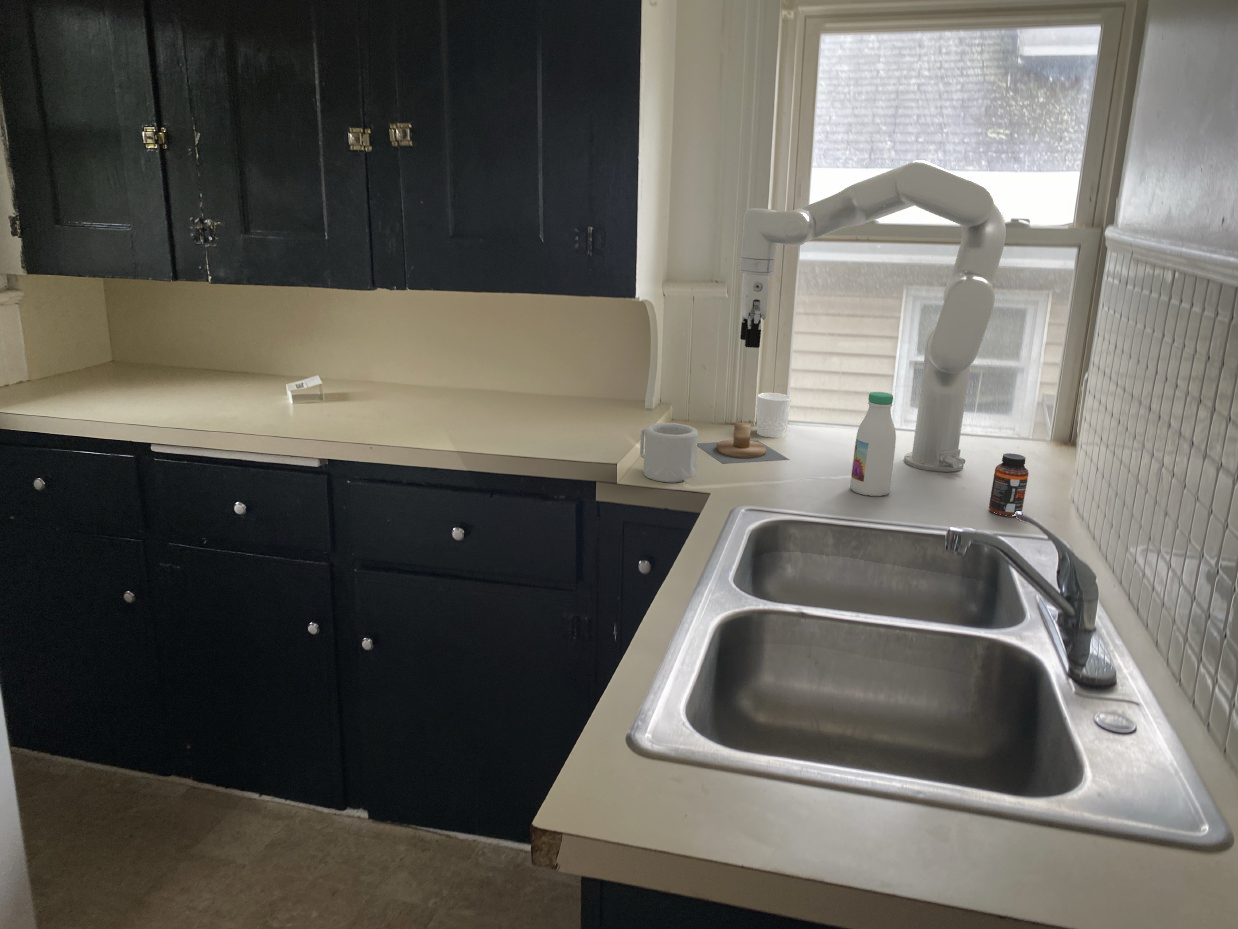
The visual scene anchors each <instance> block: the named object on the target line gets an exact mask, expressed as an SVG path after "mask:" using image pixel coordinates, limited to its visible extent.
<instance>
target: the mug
mask: <svg viewBox="0 0 1238 929" xmlns="http://www.w3.org/2000/svg"><path fill="white" fill-rule="evenodd" d="M698 440H699V431H698V430H697V428H695V427H693V426H691V425H687V424H683V423H676V422H659V423H653V424H650V425H648V426H646V427H645V428H643V429H642V430H641V431H640V444H639V445H640V446H639V447H640V448H639V456H640V457H641V458H643V466H642V467H643V474H644V476H645V477H646V478H648V479H650V480H652V481H656V482H661V483H662V482H663V483H672V484H673V483H675V484H676V483H684V482H686V481H685V480H687V479H690V478H692V477H694V476H695V475H696V470H697V452H698V446H697V443H698Z"/></svg>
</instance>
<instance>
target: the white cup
mask: <svg viewBox="0 0 1238 929" xmlns="http://www.w3.org/2000/svg"><path fill="white" fill-rule="evenodd" d="M756 399H757V400H756V403H757V404H756V434H757V435H759V436H762V437H765V438H772V439H773V438H776V439H778V438H783V437H785V436H786V432H787V428H788V422H789V416H790V406H791V401H792V397H791V396H790V395H788V394H784V393H779V392H761V393H759V394H757V398H756Z"/></svg>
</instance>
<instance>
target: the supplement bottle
mask: <svg viewBox="0 0 1238 929" xmlns="http://www.w3.org/2000/svg"><path fill="white" fill-rule="evenodd" d="M1026 458H1027V457H1025V455H1022V454H1017V453H1010V452H1008V453H1007V452H1006V453H1003V454H1002V459H1001V461H1002V462H1001V463H999V464H998V465H996V466H995V469H994V474H993V479H992V486H991V491H990V492H991V493H990V497H989V505H988V509H990V510H991V511H992V512H995V513H997V514H1001V515H1007V516H1012V515H1014V514H1015V512H1016V511H1023V509H1024V508H1023V507H1024V502H1025V496H1026V492H1027V485H1028V477H1029V470H1028V468H1026V467H1025V466H1026V465H1025V464H1026ZM990 510H989V511H990ZM991 511H990V512H991ZM992 512H991V513H992ZM995 513H994V514H995ZM997 514H996V515H997ZM1001 515H1000V516H1001ZM1013 518H1015V516H1014V517H1013Z"/></svg>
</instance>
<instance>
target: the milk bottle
mask: <svg viewBox="0 0 1238 929" xmlns="http://www.w3.org/2000/svg"><path fill="white" fill-rule="evenodd" d="M893 402H894V395H893V394H892V393H889V392H882V391H872V392H870V393H869V395H868V402H867V404H868V408H867V411H866V414H865V416H864V418H863V419H862V420H861V422H860V425H859V427H858V428H857V433H856V437H855V443H854V452H853V460H852V468H851V478H850V489H851V491H852V492H854V493H856V494H859V495H862V496H863V495H864V496H867V495H870V496H869V497H883V496H882V495H884V496H886V495H888V494H889V493H890V491H891V485H892V478H893V468H894V461H895V451H896V439H897V433H896V427H895V424H894V420H893V417H892V413H891V410H892V409H891V408H892V407H893Z"/></svg>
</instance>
